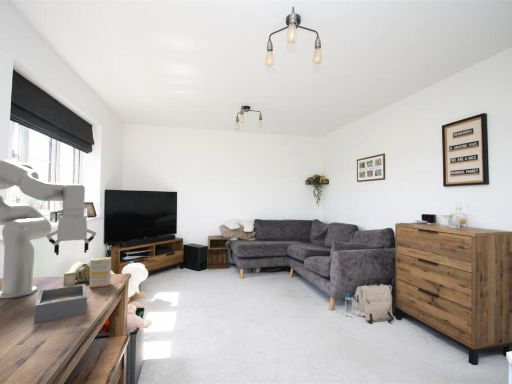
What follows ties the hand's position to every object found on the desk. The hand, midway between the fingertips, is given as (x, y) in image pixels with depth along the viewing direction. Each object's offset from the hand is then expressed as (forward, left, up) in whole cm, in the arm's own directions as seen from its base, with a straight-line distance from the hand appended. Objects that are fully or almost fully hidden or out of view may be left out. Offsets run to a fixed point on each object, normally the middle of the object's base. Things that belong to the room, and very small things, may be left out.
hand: (71, 253), depth 109 cm
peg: (0, 0, -18) cm, 18 cm away
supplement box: (-9, +12, -19) cm, 24 cm away
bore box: (+13, -2, -18) cm, 23 cm away
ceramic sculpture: (-21, +5, -19) cm, 28 cm away
